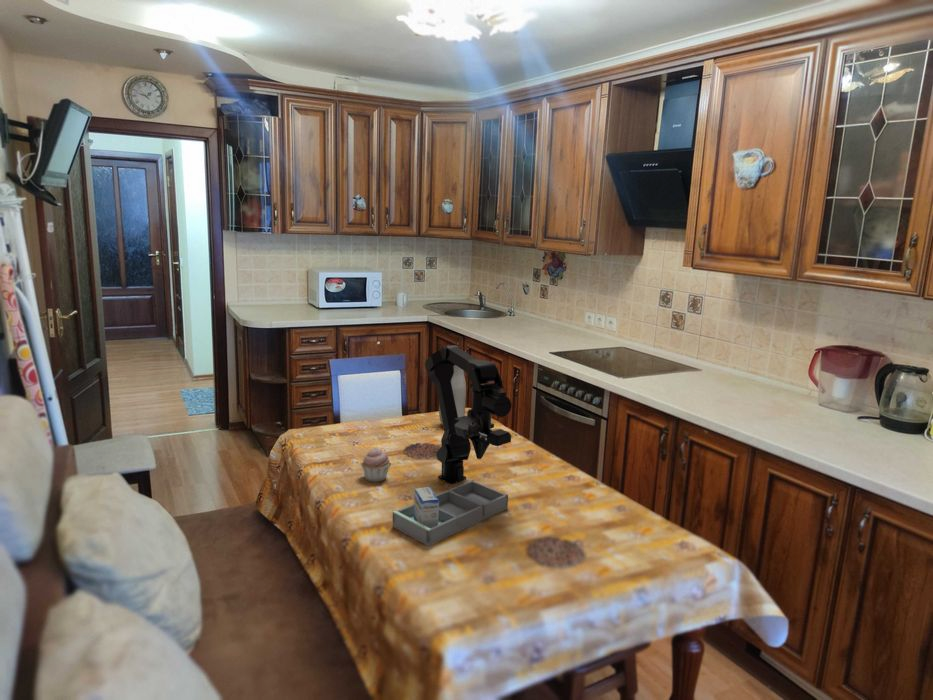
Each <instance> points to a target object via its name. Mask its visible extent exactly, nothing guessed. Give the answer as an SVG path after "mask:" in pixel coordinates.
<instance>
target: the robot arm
mask: <svg viewBox="0 0 933 700" xmlns="http://www.w3.org/2000/svg"><path fill="white" fill-rule="evenodd" d="M455 365H456V366H458V367H459V368H461V369H462V370H464V373H466V378H467V379H468V380H469V381H470V382H471V383H470V384H468V387H469V389H472V393H471V408H470V409H468V411H467V413H466V415H465V416H462V417H459V418H458V414H457V409H456V404H455V399H454V394H453V389H452V385H451V379H452V377H453V374H454V366H455ZM424 368H425V370H426V373H427V377H428V378H429V380H431V382H432V383H433V384H434V385H435V389H436V394H437V399H438V405H440V410H441V416H442V421H443V423H442V425H443V429H444V430H443V433H442V437H441V440H440V442H441V443H440V444H441V447H439V448H438V450H437V452H436V460H437V461H438V462H440V463H441V474H440V475H438V476H437V479H439V480H441V481H444V482H446V483H448V484H450V485H453V484H456V483H458V482H461V481H463V480H466V479H467V476H466V475H464V471H465V468H464V467H465V466H464V461H467V460H469V457H470V452H471V450H472V447H473V449H474V450H473V451H474V452H475V456H476V459H477V460H482V459H483V456H484V455H485V453H486V451H487V450H488V448H489V446H490V445H492V446H495V447H499V446H502V445H506V444H509V443H511V442H512V434H511V432H509V431H506V430H504V429H501V428H498V429H495V430H494V428H495V424H494V423H492V415H495V416H496V417H499V418H504V417H506V416H507V415H508V414H509V413H510V412H511V409H512V401H511V399H510V398H509V397H508V396H506V395H507V392H506V391H504V390H503V389H504V384H503V383H504V382H503V380H502V378H501V376H500V373H499V369H498V367H497V365H496V364H495V363H494V362H493V361H490V360H486V359H485V360H484V359H478V358H476V357H474V356H473V355H471V354H469V353H468V352H466V351H464V350H463V349H461V348H460V347H459V346H458V345H457V344H454V345H452V344H451V345H444V346H442V347H441V348H440V349H438V350H437V351H435V352H433V353H431V354H430V355H429V356H428V357H427V359H426V360H425V362H424ZM470 441H471V442H470ZM471 443H472V445H471Z"/></svg>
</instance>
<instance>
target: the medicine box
mask: <svg viewBox="0 0 933 700" xmlns="http://www.w3.org/2000/svg"><path fill="white" fill-rule="evenodd" d="M436 495H437V494H435V492H434V491H433V490H432V488H431V487H430V486H429V487H428V486H426V487H418V488H417V487H416V488H415V489H414V496H413V497H414V499H413V504H414V520H415V521H417V522H419V523H421V524H423V525H425V526H427V527H429V528H432V527H434V526H436V525H438V515H439V500H438V498H437V497H436Z"/></svg>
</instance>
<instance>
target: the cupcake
mask: <svg viewBox="0 0 933 700" xmlns="http://www.w3.org/2000/svg"><path fill="white" fill-rule="evenodd" d="M389 459H390V458H389V457H388V455H387V454H386V452H384V451H382V450H380V449H379V448H378V447H377V446H375V447H373V448H371V449H370V450H369V451H368V452H367V454H365V456H364V458H363V460H362V462H360V466H361V468H362V470H363V474H364V478H365V480H366V481H368V482H371V483H372V482H373V483H378V482H379V483H380V482H383V481H384V480H385V481H386V479H387V475H388V473H389V469H390V467H391V466H392V462H390V460H389Z"/></svg>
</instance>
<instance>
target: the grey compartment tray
mask: <svg viewBox="0 0 933 700" xmlns="http://www.w3.org/2000/svg"><path fill="white" fill-rule="evenodd" d="M435 495H436V497H437V498H438V500H439V515H438V525H436V526H434V527H432V528H429V527H427V526H425V525H423V524H421V523H419V522H417V521H415V520H414V503H412V504H410V505H407V506H405V507H402V508H400V509H398V510H396V509H395V510H393V511H392V527H393V528H394V529H397V530H398V531H400V532H402V533H404V534H405V535H407V536H409V537H411V538H413V539H415V540H417V541H419V543H422V544H424V545H425V546H428V547H430V546H432V545H434V544H436V543H438V542H441V541H442V540H445V539H446V538H449V537H450V536H451V537H452V535H453V536H454V534H457V533H460V532H461V531H463V530H465V529H468V528H469V527H471V526H473V525H476V524H478V523H479V522H480V523H481V522H482V521H484V520H486V519H488V518H490V517H492V516H494V515H496V514H498V513H500V512H503V511H505V510H507V509H508V507H509V505H508V504H509V495H508V494H507V493H504V492H502V491H499V490H497V489H495V488H492V487H490V486H487V485H485V484H483V483H480V482H478V481H475V480H470V481H467V482H465V483H462V484H459V485H457V486H454V487H451V488H450V489H447V490H445V491H442V492H440V493H438V494H435Z"/></svg>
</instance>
